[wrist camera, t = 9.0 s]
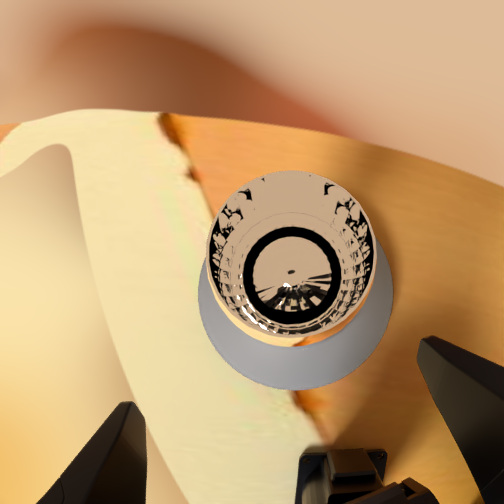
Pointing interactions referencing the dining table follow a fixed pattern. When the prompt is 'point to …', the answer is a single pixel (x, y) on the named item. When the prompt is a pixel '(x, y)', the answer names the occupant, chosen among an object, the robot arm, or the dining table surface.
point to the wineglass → (291, 259)
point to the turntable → (305, 360)
